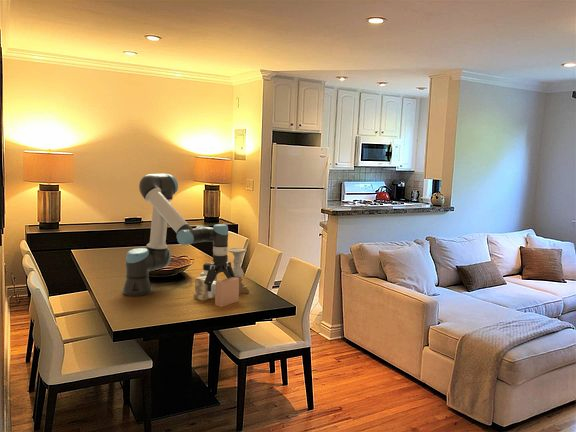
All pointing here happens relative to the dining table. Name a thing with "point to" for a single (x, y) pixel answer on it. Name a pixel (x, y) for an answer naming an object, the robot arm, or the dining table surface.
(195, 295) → the white blocky piece
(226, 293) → the socket block
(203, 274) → the container
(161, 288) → the dining table surface
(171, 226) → the robot arm
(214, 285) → the slip bar
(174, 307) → the dining table surface
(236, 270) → the candle holder
